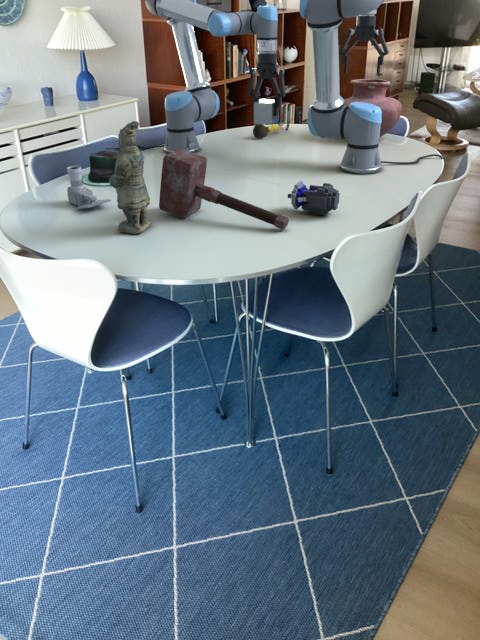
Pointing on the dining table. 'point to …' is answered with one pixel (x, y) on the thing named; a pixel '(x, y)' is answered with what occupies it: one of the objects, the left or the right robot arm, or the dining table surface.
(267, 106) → the metal block
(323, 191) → the toy
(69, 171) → the grey piece
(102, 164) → the green top hat
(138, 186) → the statue
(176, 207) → the sledgehammer
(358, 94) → the clay pot
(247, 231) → the dining table surface
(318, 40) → the right robot arm
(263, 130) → the figurine
